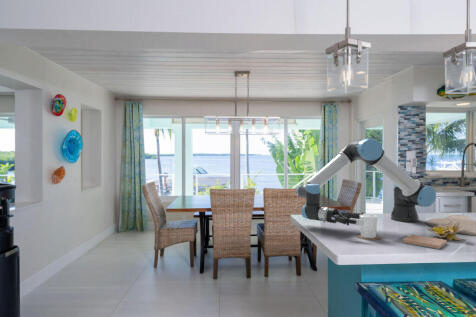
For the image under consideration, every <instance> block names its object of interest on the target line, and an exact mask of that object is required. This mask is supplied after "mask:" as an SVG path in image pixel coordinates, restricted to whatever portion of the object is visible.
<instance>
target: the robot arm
mask: <svg viewBox="0 0 476 317" xmlns="http://www.w3.org/2000/svg"><path fill="white" fill-rule="evenodd" d="M355 161H362V162H364V164H366V165H367V166H369V167H374V168H375V169H376V170H377V171H378V172H380V173H381V174H382V175H383V176H384V177H386V178H387V179H388V180H390V182H392V183H393V184H394V185H393V208H392V211H391V213H390V219H391V220H393V221H397V222H407V223H410V222H411V223H412V222H419V219H420V216H419V214H418V211H417V209H416V206H419V207H421V208H428V207H431V206H432V205H433V204H434V203H435V201H436V199H437V192H436V190H435V189H434V188H433V187H432V186H429V185H425V184H424V183H423V182H422V181H421V180H419V179H417V178H415V179H414V178H412V177H411V176H410V175H409V174H408V173H406V172H405V171H404V169H402V168H401V167H400V166H398V165H397V164H396V163H395V162H394V161H393V160H391V159H390V158H389V157H388V156H386V155H385V150H384V149H383V146H382V144H381V142H380V141H378V140H376V139H375V138H370V137H369V138H363V139H356V140H353V141H350V142H349V143H348V144H347V145H345V146H344V147H343V148H342V149H341V150H339V151H338V153H337V155H336V156H335V157H334V158H333V159H331V161H330V162H328V163H327V164H326V165H325V166H324V167H322V168H321V169H320V170H319V171H318V172H316V173H315V174H314V175H313V176H312V177H310V178H309V179H308V180H307V181H306V182H305V183H304V184H300V185H298V186H297V188H296V194H297V196H298V197H300V198H302V199H303V200H304V199H305V204H304V205H302V207H301V211H300V212H301V216H302V218H304V219H305V220H311V221H319V222H323V223H330V224H331V223H332V224H336V223H337V224H338V223H340V224H343V225H346V226H350V225H354V226H359V227H360V226H364V220H361V219H360V217H359V215H361V214H364V212H360V213H358V212H345V211H344V212H342V211H341V212H340V211H339V210H338V209H337V208H335V207H333V208H332V207H326V206H321V187H323V185H325V184H326V183H327V182H328V181H329V180H331V179H332V178H333V177H335V176H336V175H337V174H338V173H339V172H340V171H341V170H343V168H344V167H346V166H347V165H351V164H352V163H353V162H355Z"/></svg>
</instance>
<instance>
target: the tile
mask: <svg viewBox="0 0 476 317" xmlns="http://www.w3.org/2000/svg"><path fill="white" fill-rule="evenodd" d="M407 236H408V237H406V238H404V239H403V242H404V243H408V244H407V245H409V244H413V245H412V246H414V245H419V246H418V247H420V246H424V247H423V248H425V247H430V248H429V249H431V248H435V249H434V250H440V249H441V248H443V247H444V246H445V245H447V244H448V241H447V240H448V239H443V238H435V237H429V236H423V235H418V234H411V235H407Z"/></svg>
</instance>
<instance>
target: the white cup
mask: <svg viewBox="0 0 476 317" xmlns="http://www.w3.org/2000/svg"><path fill="white" fill-rule="evenodd" d="M359 217H360V219H361V220H364V226H360V225H359V230H360V234H361V236H362V237H364V238H376V235H377V229H378V228H377V227H378V216H377V215H375V214H369V213H366V214H365V213H363V214H361V215H359Z"/></svg>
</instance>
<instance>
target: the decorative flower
mask: <svg viewBox="0 0 476 317" xmlns="http://www.w3.org/2000/svg"><path fill="white" fill-rule="evenodd" d="M426 230H427V231H429V232H431V233H433V234H435V235H437V236H438V237H439V238H446V240H448V241H450V242H451V241H453V239H454V240H455V241H461V238H459V237H458V236H457V233H459V232H461V231H463V230H464V227H463V226H462V222H461V221H455V220H452V221H450V222H448V224H446V223H437V226H432V228H431V227H430V228H426Z"/></svg>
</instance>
